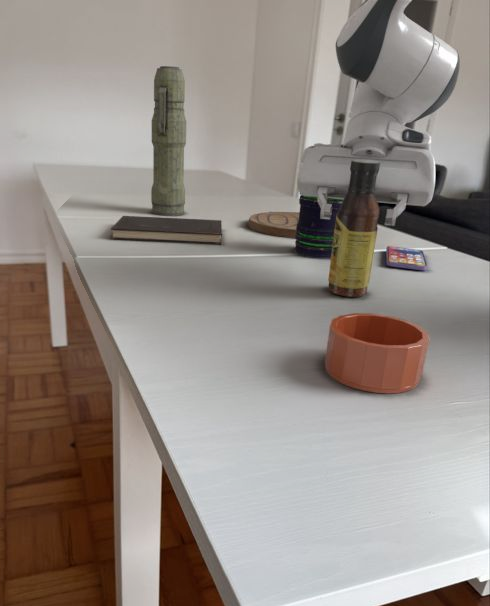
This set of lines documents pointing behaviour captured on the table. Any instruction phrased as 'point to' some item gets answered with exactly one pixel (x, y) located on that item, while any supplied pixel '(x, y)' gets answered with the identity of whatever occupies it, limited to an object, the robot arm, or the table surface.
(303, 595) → the table surface
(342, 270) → the sauce bottle
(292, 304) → the table surface
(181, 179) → the thermos
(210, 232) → the hardcover book
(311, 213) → the storage jar
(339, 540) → the table surface
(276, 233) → the trivet
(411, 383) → the faceted bowl
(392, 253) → the smartphone
